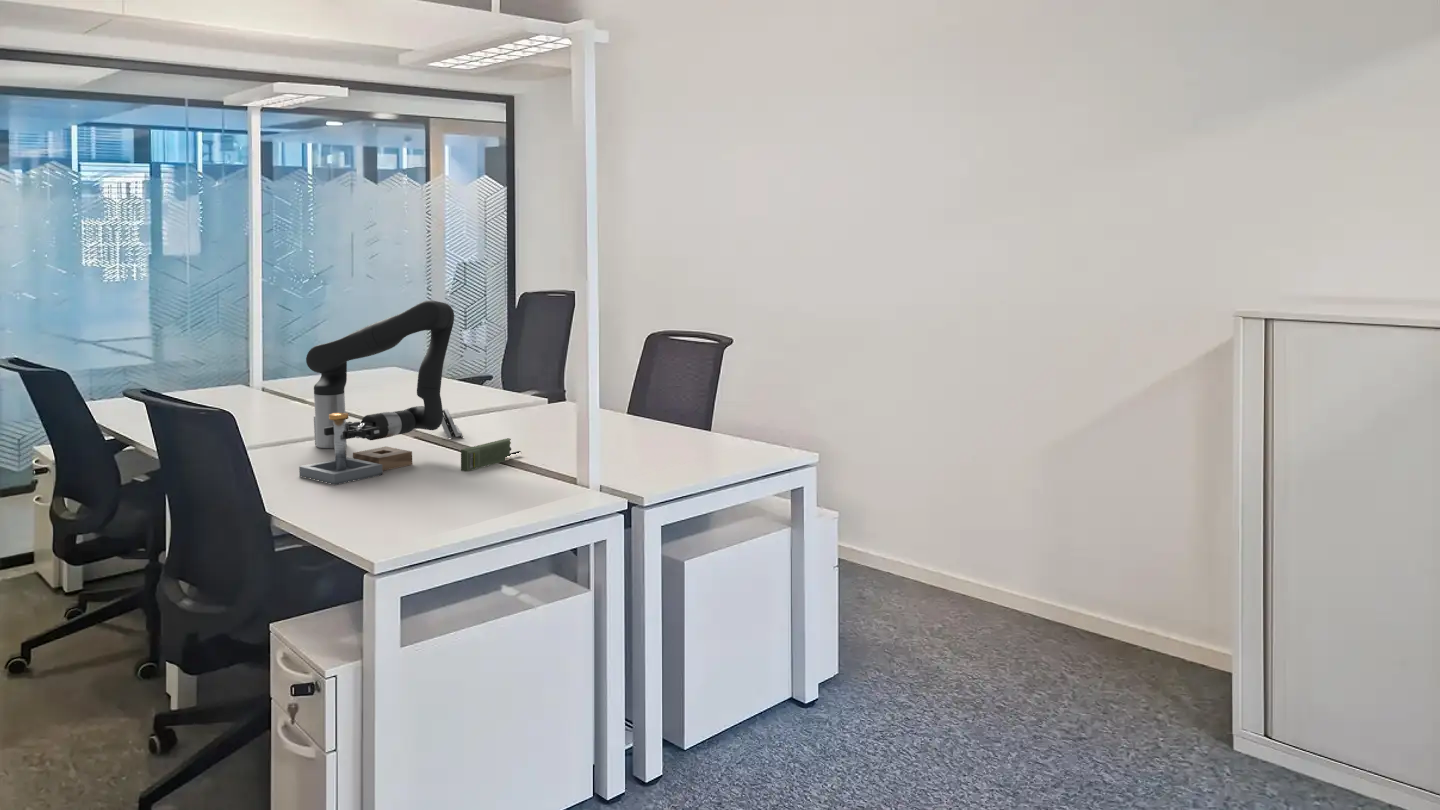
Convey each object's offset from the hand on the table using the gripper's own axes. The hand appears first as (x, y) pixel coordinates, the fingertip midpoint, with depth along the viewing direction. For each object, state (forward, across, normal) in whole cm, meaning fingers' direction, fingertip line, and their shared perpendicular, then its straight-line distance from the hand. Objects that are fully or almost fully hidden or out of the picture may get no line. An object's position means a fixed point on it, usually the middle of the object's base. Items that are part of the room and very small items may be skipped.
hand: (334, 433), depth 302 cm
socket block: (-18, -2, +12) cm, 22 cm away
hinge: (-62, -24, +13) cm, 68 cm away
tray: (-2, 0, +12) cm, 13 cm away
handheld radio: (-40, +21, +13) cm, 47 cm away
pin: (-2, 0, +12) cm, 12 cm away
